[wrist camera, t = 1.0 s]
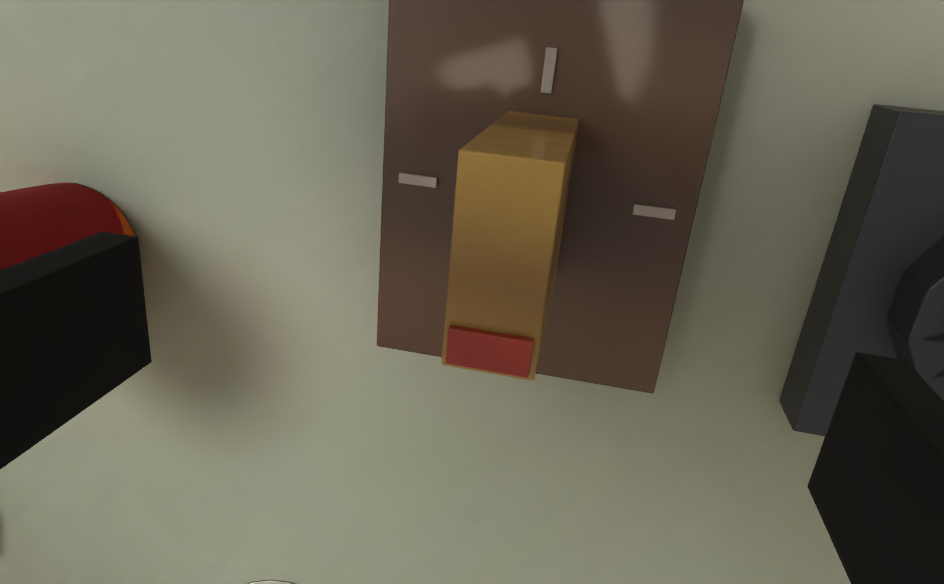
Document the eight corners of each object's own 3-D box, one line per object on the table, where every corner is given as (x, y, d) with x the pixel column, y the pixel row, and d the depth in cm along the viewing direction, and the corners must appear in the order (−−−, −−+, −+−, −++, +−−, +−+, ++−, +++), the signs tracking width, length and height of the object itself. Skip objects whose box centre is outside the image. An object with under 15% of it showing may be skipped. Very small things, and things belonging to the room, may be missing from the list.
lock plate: (415, -33, 23) (388, -42, 21) (729, -6, 22) (747, -12, 19) (398, 316, 29) (375, 348, 26) (648, 358, 27) (654, 396, 24)
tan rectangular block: (507, 110, 22) (455, 151, 14) (579, 118, 21) (565, 165, 14) (491, 263, 24) (438, 369, 16) (556, 273, 24) (533, 386, 16)
